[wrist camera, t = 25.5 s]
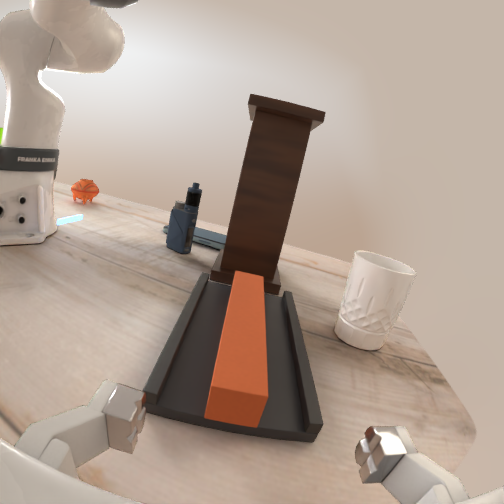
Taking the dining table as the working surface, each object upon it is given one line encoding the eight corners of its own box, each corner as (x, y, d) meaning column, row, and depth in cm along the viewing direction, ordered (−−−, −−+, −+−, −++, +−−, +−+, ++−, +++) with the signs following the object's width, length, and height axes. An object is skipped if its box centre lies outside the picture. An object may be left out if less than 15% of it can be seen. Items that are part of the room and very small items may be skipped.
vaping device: (183, 255, 52) (196, 184, 49) (162, 245, 55) (174, 178, 51) (193, 253, 54) (207, 185, 51) (172, 244, 57) (184, 179, 54)
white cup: (316, 326, 37) (341, 249, 35) (353, 318, 42) (376, 251, 40) (365, 360, 31) (398, 275, 29) (397, 345, 36) (425, 273, 34)
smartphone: (181, 222, 70) (241, 239, 65) (180, 229, 70) (240, 246, 66) (161, 225, 63) (226, 244, 58) (160, 233, 63) (224, 253, 59)
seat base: (313, 442, 19) (323, 424, 18) (141, 411, 18) (142, 390, 18) (287, 305, 42) (291, 291, 41) (199, 286, 41) (202, 272, 41)
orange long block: (257, 428, 18) (268, 396, 17) (203, 418, 18) (210, 385, 17) (257, 298, 39) (263, 276, 39) (230, 292, 39) (235, 270, 39)
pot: (64, 201, 69) (69, 175, 68) (74, 204, 76) (79, 180, 76) (91, 204, 70) (96, 178, 70) (100, 207, 78) (104, 182, 78)
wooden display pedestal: (278, 297, 44) (325, 112, 37) (208, 282, 44) (250, 93, 37) (274, 267, 57) (308, 125, 51) (220, 255, 57) (252, 112, 50)
